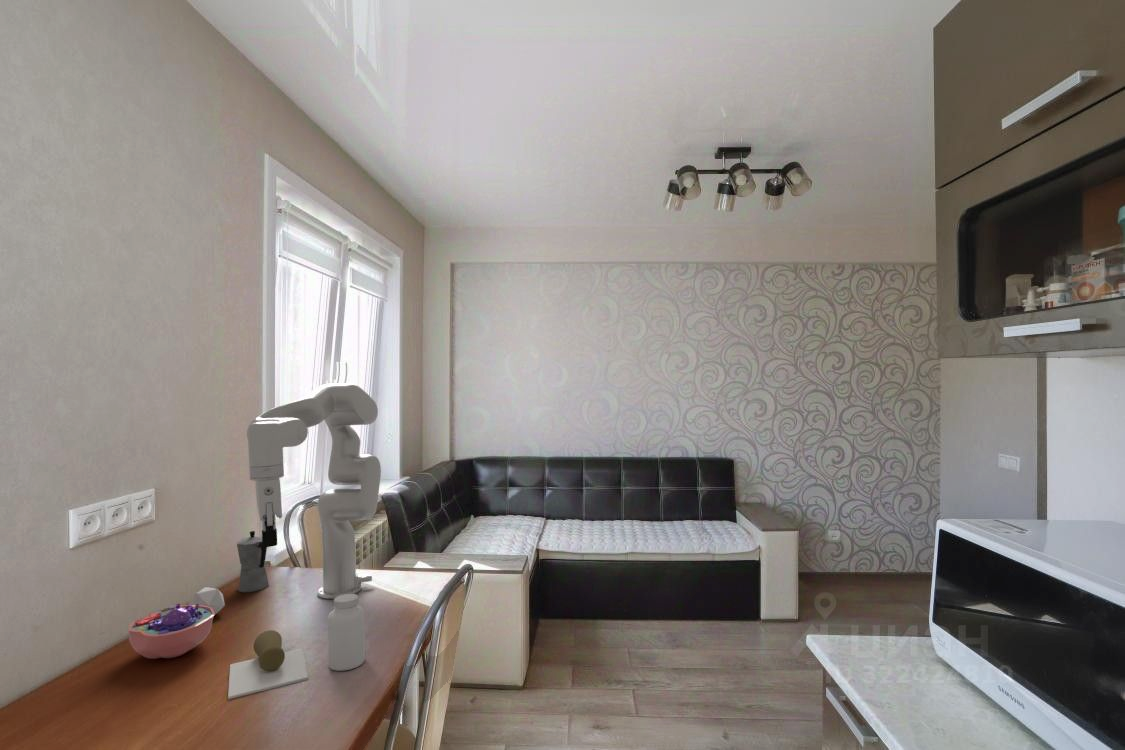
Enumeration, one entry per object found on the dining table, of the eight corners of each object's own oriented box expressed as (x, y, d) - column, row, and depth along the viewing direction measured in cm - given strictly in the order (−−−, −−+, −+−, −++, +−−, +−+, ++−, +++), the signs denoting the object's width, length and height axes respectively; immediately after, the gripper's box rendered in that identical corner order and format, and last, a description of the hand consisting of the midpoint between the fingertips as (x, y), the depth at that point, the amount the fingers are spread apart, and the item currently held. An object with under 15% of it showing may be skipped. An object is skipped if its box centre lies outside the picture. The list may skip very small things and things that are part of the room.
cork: (255, 631, 135) (259, 648, 125) (283, 628, 138) (289, 645, 129) (251, 658, 134) (255, 677, 125) (280, 655, 137) (285, 673, 128)
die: (232, 616, 162) (228, 583, 167) (213, 611, 155) (210, 577, 160) (203, 628, 162) (201, 595, 166) (183, 624, 154) (181, 590, 159)
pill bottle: (372, 657, 134) (371, 593, 134) (349, 674, 126) (347, 606, 126) (345, 653, 136) (343, 589, 137) (320, 669, 129) (318, 602, 129)
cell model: (202, 629, 152) (201, 586, 153) (223, 653, 138) (222, 606, 138) (122, 651, 141) (121, 605, 141) (136, 680, 126) (135, 628, 126)
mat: (301, 650, 139) (301, 648, 139) (307, 679, 125) (307, 676, 125) (230, 666, 131) (230, 664, 131) (228, 699, 117) (228, 696, 117)
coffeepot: (229, 587, 184) (227, 531, 184) (259, 579, 192) (258, 525, 192) (250, 597, 175) (248, 538, 175) (281, 588, 182) (280, 531, 182)
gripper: (286, 474, 137) (289, 551, 137) (281, 465, 149) (284, 535, 150) (250, 478, 133) (253, 557, 133) (248, 469, 146) (251, 540, 146)
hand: (269, 545), depth 142 cm, fingers closed
